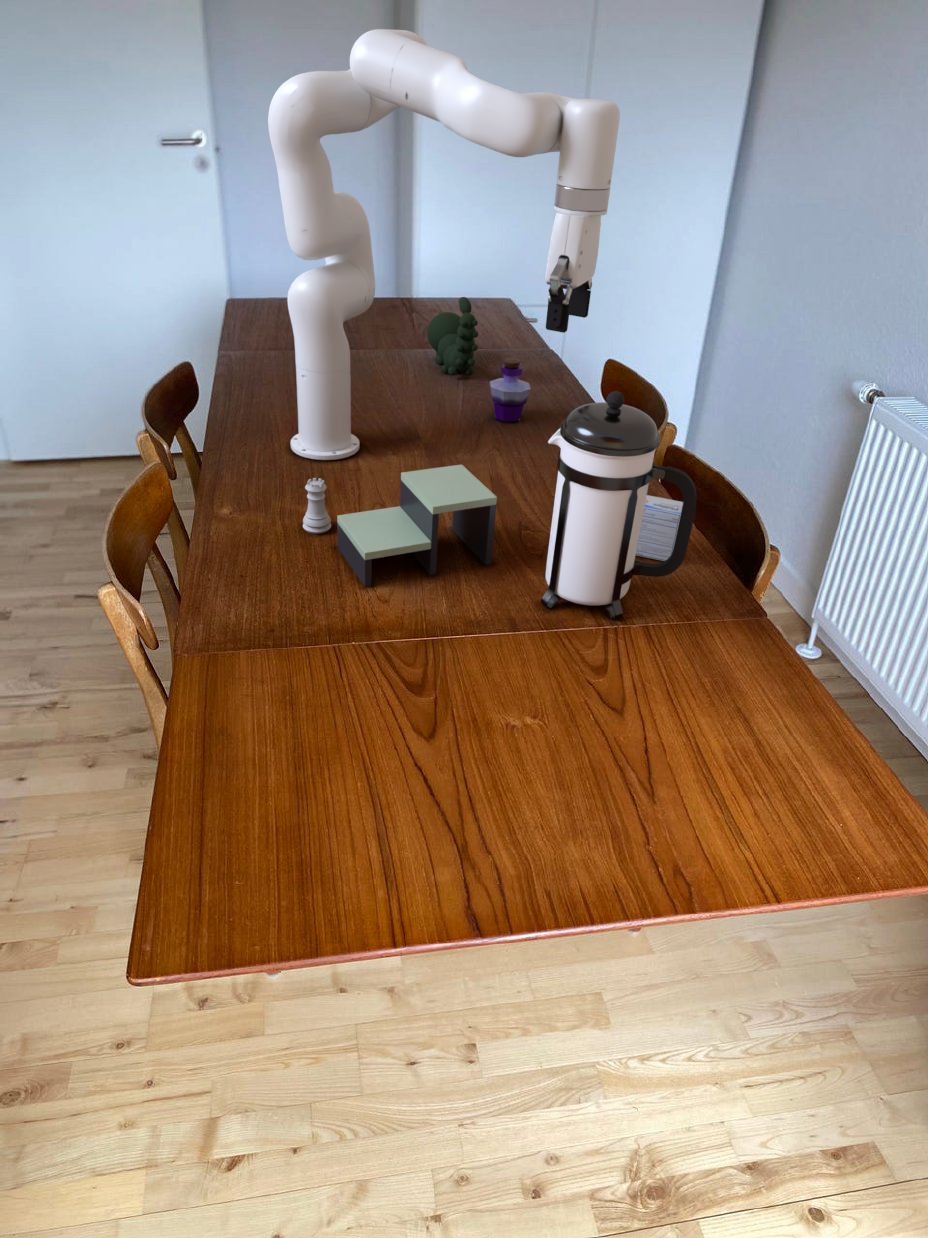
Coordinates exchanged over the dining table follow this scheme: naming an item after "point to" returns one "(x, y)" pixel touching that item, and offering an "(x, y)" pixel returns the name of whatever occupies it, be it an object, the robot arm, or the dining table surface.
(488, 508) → the rack
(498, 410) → the potion bottle
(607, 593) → the coffee press
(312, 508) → the rook chess piece
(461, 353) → the toy figurine
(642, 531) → the medicine box
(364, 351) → the dining table surface
